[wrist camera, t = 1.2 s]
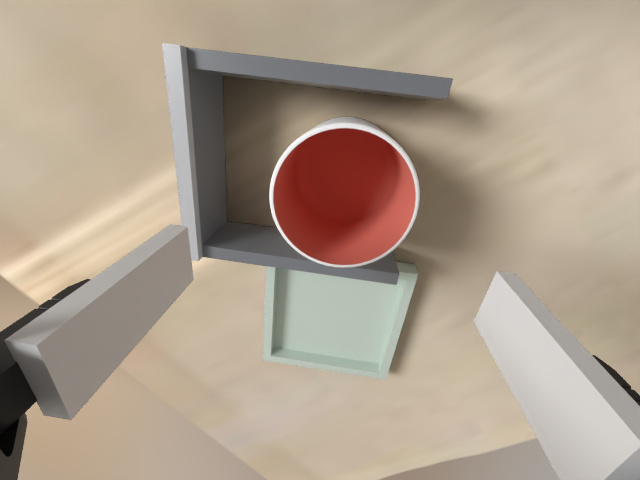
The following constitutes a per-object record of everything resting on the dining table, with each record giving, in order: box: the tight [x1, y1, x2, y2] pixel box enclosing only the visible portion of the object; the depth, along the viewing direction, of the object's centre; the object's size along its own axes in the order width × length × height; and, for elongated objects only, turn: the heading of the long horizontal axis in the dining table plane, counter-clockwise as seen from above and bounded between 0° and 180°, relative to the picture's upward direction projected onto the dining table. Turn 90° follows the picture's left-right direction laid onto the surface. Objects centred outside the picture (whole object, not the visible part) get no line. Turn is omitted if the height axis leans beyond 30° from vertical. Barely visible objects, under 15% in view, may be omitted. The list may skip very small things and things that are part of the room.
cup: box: [269, 117, 420, 268], centre depth 24 cm, size 10×10×10 cm
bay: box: [162, 43, 453, 285], centre depth 25 cm, size 16×19×7 cm
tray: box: [263, 262, 418, 380], centre depth 34 cm, size 16×16×2 cm
